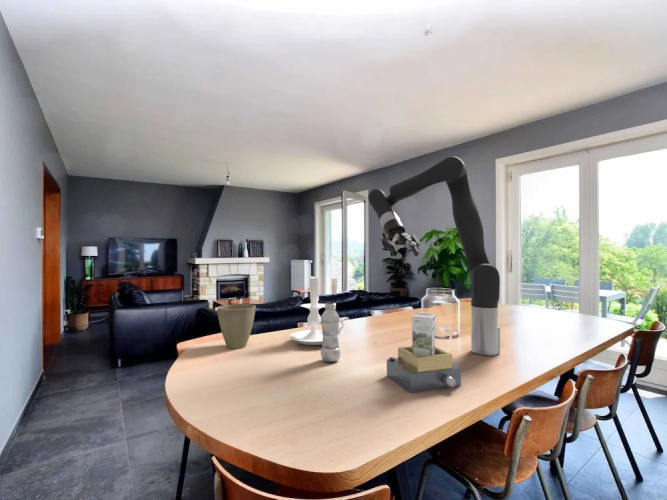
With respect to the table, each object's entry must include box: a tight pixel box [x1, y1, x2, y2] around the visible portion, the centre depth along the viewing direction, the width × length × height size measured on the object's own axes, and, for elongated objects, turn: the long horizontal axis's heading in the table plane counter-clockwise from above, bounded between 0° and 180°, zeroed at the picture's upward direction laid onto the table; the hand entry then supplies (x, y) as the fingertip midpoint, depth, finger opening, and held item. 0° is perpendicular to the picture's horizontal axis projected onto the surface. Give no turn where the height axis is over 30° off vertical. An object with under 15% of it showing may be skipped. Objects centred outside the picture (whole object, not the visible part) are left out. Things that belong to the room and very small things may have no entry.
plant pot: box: [216, 303, 256, 350], centre depth 141 cm, size 15×15×16 cm
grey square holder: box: [386, 345, 462, 394], centre depth 102 cm, size 16×17×9 cm
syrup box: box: [411, 312, 436, 357], centre depth 102 cm, size 6×6×14 cm
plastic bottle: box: [320, 302, 341, 363], centre depth 122 cm, size 6×7×20 cm
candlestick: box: [289, 275, 345, 346], centre depth 147 cm, size 21×25×28 cm
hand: (406, 254), depth 127 cm, fingers open, 8 cm apart
